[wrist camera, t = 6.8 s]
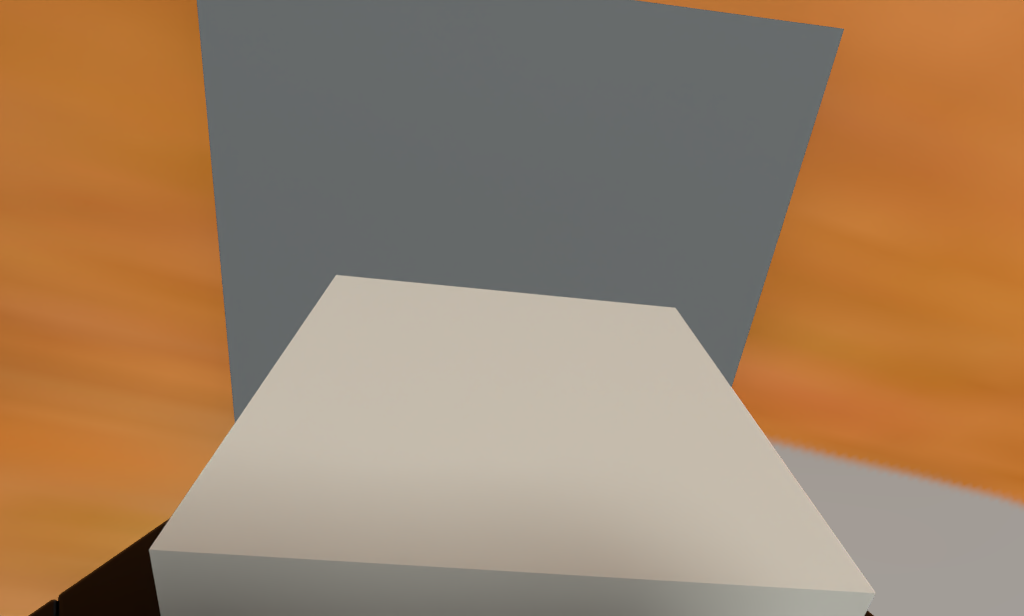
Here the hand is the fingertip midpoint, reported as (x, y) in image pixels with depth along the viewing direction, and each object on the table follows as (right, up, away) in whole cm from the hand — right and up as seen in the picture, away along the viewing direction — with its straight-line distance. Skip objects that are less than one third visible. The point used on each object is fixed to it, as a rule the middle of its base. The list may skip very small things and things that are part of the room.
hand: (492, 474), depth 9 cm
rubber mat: (0, +3, +8) cm, 9 cm away
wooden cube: (0, 0, +1) cm, 1 cm away
